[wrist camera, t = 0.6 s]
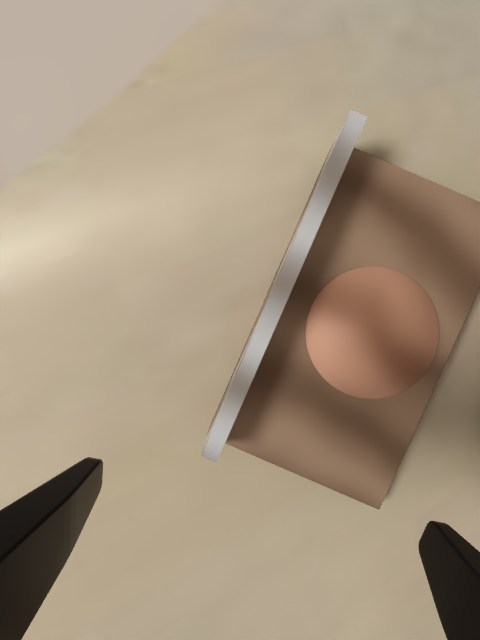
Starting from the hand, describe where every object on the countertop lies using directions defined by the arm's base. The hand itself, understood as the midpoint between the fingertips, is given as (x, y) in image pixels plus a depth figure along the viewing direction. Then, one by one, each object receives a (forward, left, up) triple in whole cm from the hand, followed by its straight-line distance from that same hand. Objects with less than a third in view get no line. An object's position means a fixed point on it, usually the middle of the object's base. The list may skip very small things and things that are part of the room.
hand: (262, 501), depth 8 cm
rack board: (+3, -8, -14) cm, 16 cm away
